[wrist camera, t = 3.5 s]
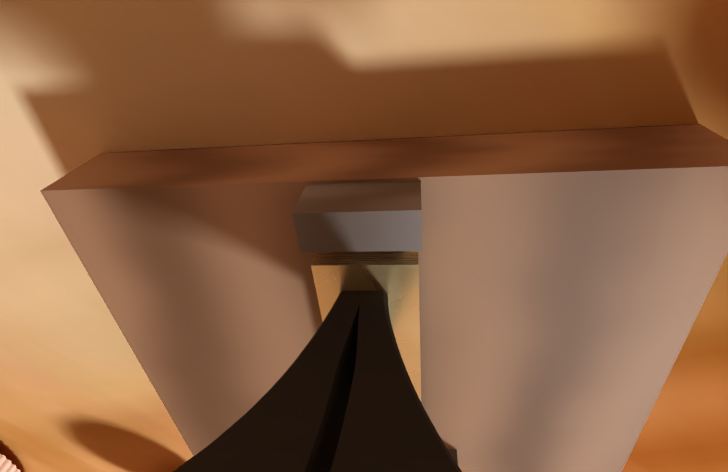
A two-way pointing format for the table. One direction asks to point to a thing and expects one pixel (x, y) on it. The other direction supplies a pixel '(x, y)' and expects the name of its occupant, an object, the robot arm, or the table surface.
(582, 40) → the table surface
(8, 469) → the plastic lid
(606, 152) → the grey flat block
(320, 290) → the latch bar
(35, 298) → the table surface
